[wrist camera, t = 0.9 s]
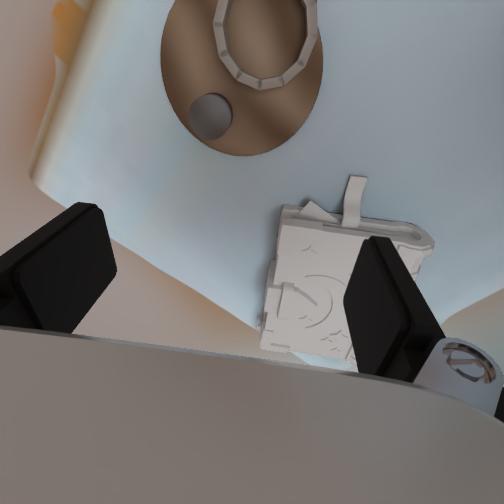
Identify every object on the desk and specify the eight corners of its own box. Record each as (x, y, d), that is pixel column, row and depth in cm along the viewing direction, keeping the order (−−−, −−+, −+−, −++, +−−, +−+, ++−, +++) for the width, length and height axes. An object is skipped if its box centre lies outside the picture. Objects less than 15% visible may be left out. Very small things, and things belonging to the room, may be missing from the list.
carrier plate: (257, -98, 23) (252, -125, 19) (355, 83, 29) (365, 87, 26) (133, 59, 30) (113, 60, 26) (234, 179, 36) (229, 192, 32)
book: (442, 185, 34) (476, 213, 28) (365, 336, 50) (376, 376, 44) (281, 163, 35) (280, 186, 29) (256, 320, 51) (252, 357, 45)
